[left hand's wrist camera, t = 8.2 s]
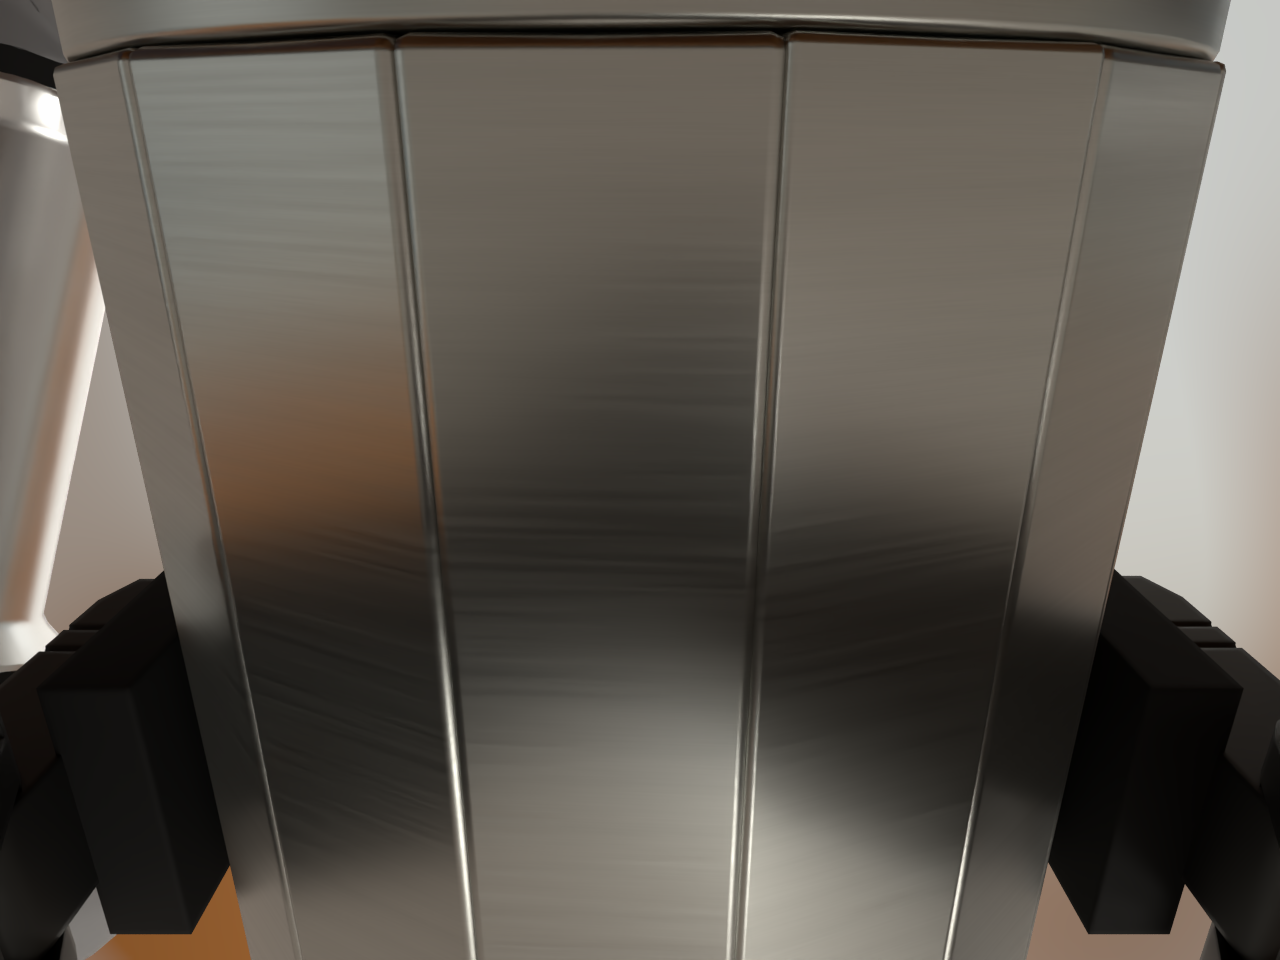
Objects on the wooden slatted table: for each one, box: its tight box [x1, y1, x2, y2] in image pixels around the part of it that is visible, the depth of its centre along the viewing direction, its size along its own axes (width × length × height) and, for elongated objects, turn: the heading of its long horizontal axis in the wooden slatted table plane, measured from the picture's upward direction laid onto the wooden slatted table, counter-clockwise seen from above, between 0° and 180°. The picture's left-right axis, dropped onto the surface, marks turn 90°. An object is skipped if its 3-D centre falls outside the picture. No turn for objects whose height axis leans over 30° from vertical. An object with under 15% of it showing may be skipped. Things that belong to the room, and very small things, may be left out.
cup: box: [51, 0, 1231, 960], centre depth 9 cm, size 8×8×10 cm
